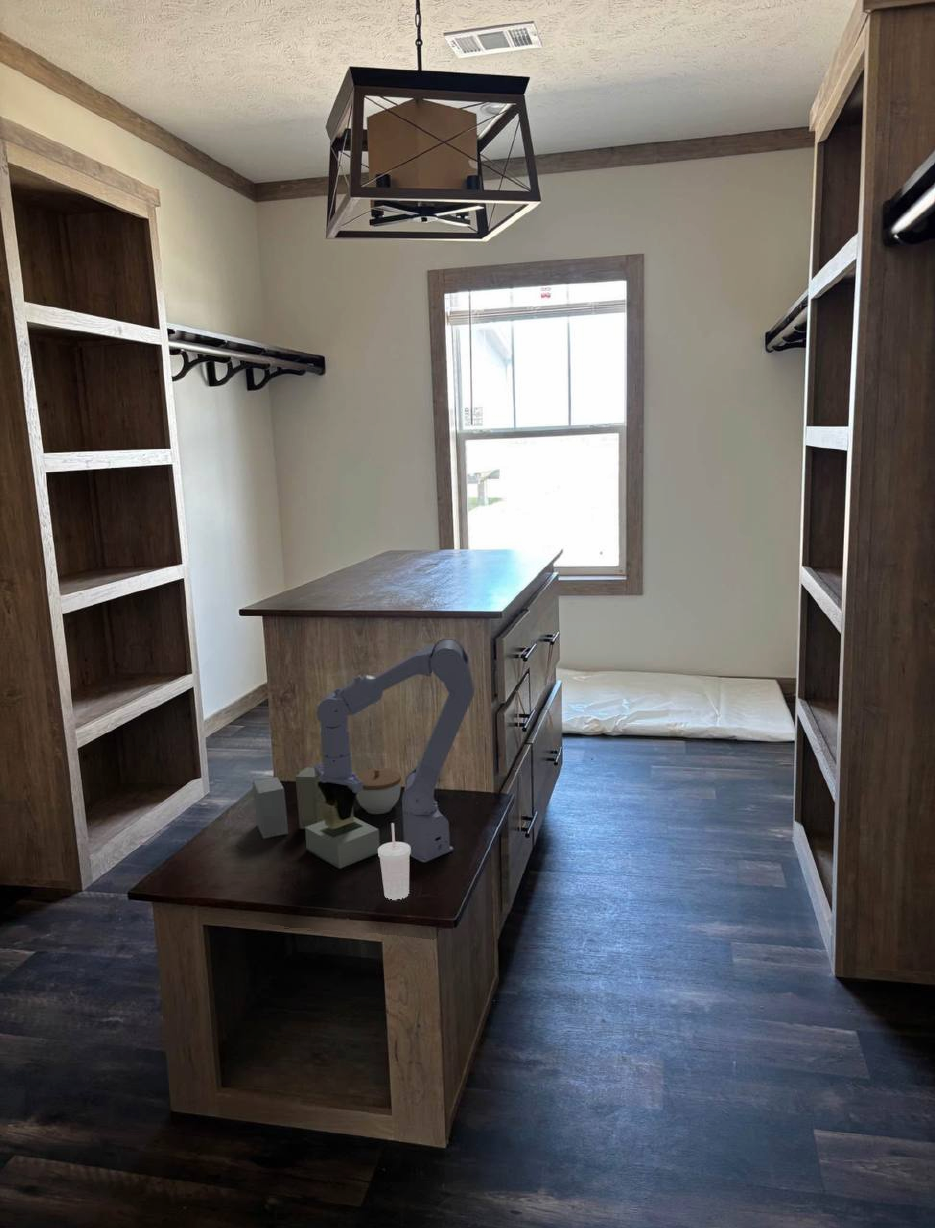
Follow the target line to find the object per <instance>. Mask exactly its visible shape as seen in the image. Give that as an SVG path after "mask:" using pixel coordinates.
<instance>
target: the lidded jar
mask: <svg viewBox="0 0 935 1228" xmlns="http://www.w3.org/2000/svg"><path fill="white" fill-rule="evenodd" d="M355 775H356V776H357V778H358V779H359V780H361V781H362V782H363V790H362V791H360V792H358V793H357V795H356V797H355V799H356V800H357V803H358V804H359V805H360V807H362V808H363V809H364V810H365V811H366V812H367V813H368V814H372V815H381V814H386V813H389V812H391V811H392V809H393V807H395V805H397V802H398V801H399V799H400V795H401V788H402V787H401V781H402V777H401V774H400V772H398V771H397V770H395V769H393V768H392V769H391V768H382V767H381V768H380V767H379V768H370V769H365V770H363V771H360V772H358V773H357V774H355Z"/></svg>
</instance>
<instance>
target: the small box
mask: <svg viewBox="0 0 935 1228" xmlns="http://www.w3.org/2000/svg"><path fill="white" fill-rule="evenodd" d="M252 786H253V798H254V806H255V809H254V810H255V816H256V817H255V818H256V827H257V828H258V830H259V833H260V835H261V837H262V839H264V840H265V839H270V838H275V837H278V836H284V835H288V834H289V830H288V829H289V828H288V815H287V803H286V794H285V788H284V786H283V784H282V783H281V781H280V779H279V777H278V776H277V777H271V778H270V777H269V778H264V779H258V780H253V781H252Z"/></svg>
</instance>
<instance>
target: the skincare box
mask: <svg viewBox="0 0 935 1228" xmlns="http://www.w3.org/2000/svg"><path fill="white" fill-rule="evenodd" d="M319 777H321V775H315V769H314V766H313V767H311V766H310V767H307V766H306V767H304V768H303V769H302V770H301V771H299V772H298V774H297V775H295V788H296V798H297V800H296V801H297V811H298V820H299V821H298V823H299V829H300V830H305V827H307V826H310V825H313V824H316V823H318V822H321V821H324V820H325V815H324V802H325V801H326V799H325V797H324V795H323V793H322V791H321V789H320V788H319V787H318V782H320V781H319Z"/></svg>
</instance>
